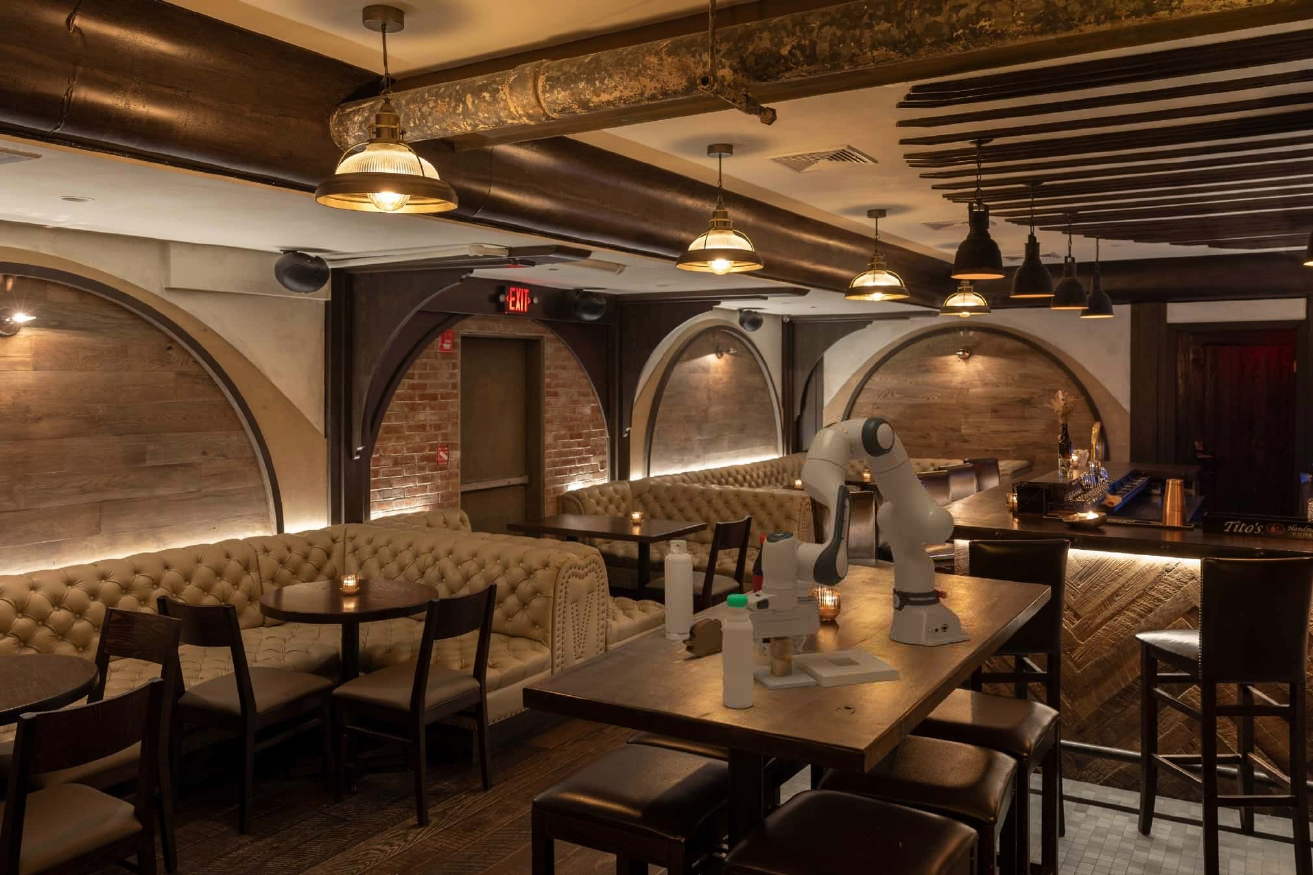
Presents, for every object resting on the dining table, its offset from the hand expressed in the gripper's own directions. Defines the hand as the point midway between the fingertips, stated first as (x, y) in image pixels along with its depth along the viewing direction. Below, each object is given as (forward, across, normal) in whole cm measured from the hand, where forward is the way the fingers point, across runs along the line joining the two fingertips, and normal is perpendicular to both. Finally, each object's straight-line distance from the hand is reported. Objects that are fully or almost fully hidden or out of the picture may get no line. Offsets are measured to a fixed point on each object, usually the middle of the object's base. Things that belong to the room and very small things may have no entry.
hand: (780, 653), depth 241 cm
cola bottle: (+6, -11, -36) cm, 38 cm away
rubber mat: (+6, 0, 0) cm, 6 cm away
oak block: (+5, 0, 0) cm, 5 cm away
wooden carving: (+6, +11, -26) cm, 29 cm away
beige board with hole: (+6, -17, 0) cm, 18 cm away
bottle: (+6, +12, -47) cm, 49 cm away
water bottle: (+6, +17, +16) cm, 24 cm away
